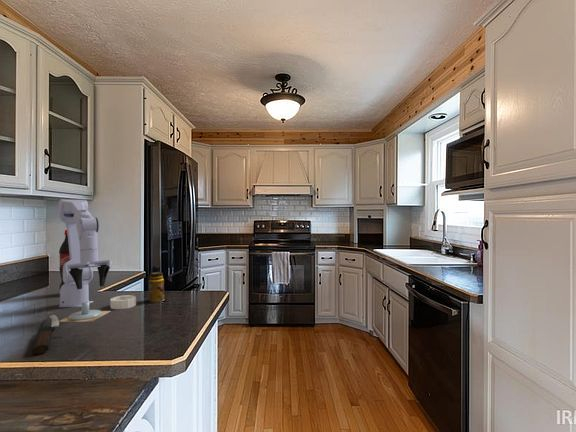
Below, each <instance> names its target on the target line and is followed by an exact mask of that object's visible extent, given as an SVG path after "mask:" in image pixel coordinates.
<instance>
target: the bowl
mask: <svg viewBox="0 0 576 432" xmlns="http://www.w3.org/2000/svg"><path fill="white" fill-rule="evenodd" d="M109 304H110V309H112V310H124V309H125V310H126V309H130V308H133V307H136V306H137V297H136V295H133V294H129V295H127V294H124V295H118V296H114V297H111V298H110V303H109Z"/></svg>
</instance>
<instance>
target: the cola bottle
mask: <svg viewBox="0 0 576 432" xmlns="http://www.w3.org/2000/svg"><path fill="white" fill-rule="evenodd" d="M64 236H65V238H64V240H63V242H62V243H61V246H60V247H59V251H58V253H59V267H58V268H59V273H60V279H61V282H60V284H59V290H60V289H61V287H62V285H64V284H65V283H64V282H63V266H64V264H65V263H67V262H68V261H69V260H70V254H69V244H68V234H67V229H66V230H64Z"/></svg>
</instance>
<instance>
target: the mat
mask: <svg viewBox="0 0 576 432" xmlns="http://www.w3.org/2000/svg"><path fill="white" fill-rule="evenodd" d="M101 311H102V314H101V315H100V316H98V317H96V318H92V319H87V320H70V319H69V316H67V317H65V318H62V319H60V320H59V323H60V322H61V323H69V322H71V323H72V322H73V323H74V322H76V323H77V322H83V323H84V322H90V323H91V322H94V321H96V320H98V319H99V318H101V317H103V316H105V315H107V314H108V313H110V312H112V311H111V310H101Z"/></svg>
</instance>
